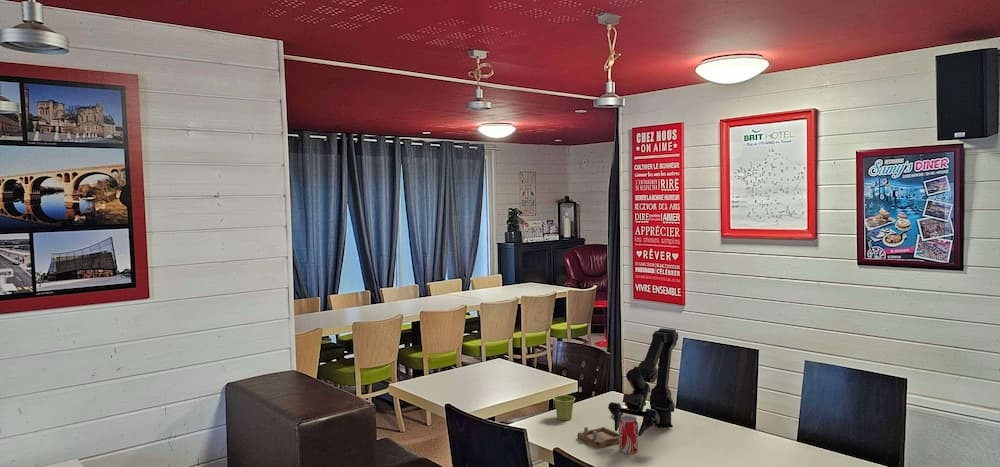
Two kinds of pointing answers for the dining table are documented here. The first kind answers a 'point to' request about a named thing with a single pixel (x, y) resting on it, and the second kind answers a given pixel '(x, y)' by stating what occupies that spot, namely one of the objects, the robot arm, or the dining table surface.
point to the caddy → (599, 437)
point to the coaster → (627, 414)
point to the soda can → (628, 434)
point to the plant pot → (564, 406)
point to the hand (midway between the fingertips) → (627, 433)
